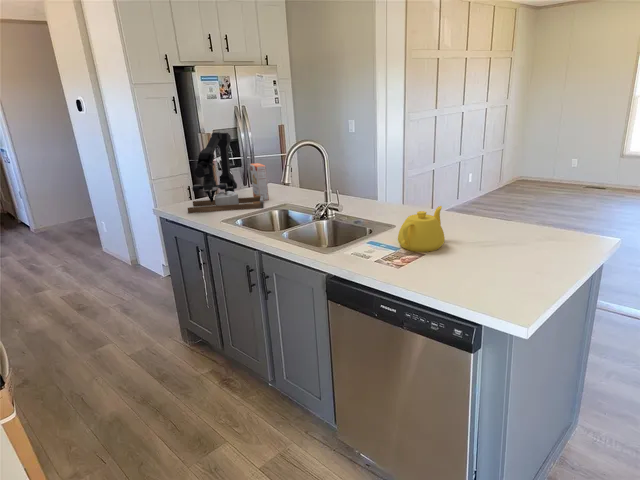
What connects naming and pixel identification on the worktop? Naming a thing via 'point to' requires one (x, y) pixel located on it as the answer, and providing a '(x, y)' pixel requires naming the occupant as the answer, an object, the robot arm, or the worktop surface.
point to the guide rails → (252, 204)
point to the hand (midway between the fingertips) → (211, 202)
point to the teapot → (422, 232)
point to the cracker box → (259, 180)
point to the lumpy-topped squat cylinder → (226, 198)
